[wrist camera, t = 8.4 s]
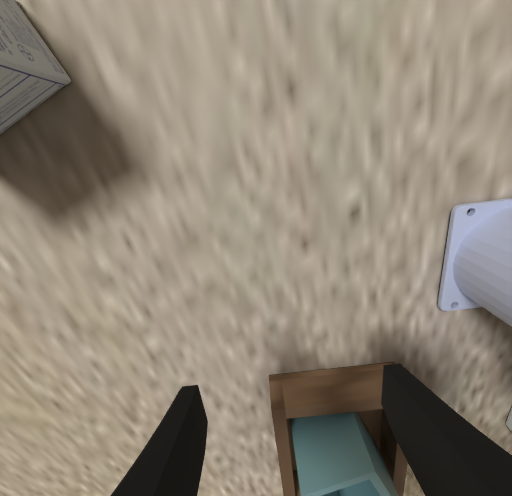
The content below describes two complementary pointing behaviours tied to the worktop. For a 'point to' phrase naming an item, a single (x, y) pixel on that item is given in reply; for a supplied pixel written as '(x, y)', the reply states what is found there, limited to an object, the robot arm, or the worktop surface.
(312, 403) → the walnut crate
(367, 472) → the teal crate
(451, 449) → the robot arm
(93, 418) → the worktop surface
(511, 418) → the supplement box
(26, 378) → the worktop surface
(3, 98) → the medicine box
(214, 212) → the worktop surface
